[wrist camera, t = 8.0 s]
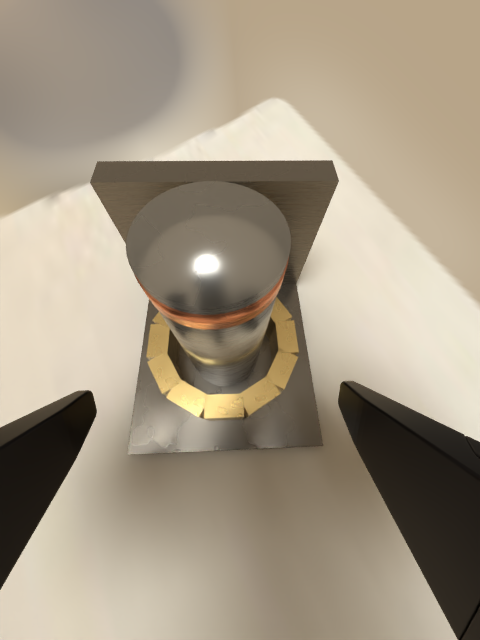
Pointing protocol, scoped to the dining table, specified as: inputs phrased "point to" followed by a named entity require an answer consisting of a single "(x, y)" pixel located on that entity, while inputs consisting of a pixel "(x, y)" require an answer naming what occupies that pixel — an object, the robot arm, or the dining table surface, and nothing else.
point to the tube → (212, 271)
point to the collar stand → (280, 337)
